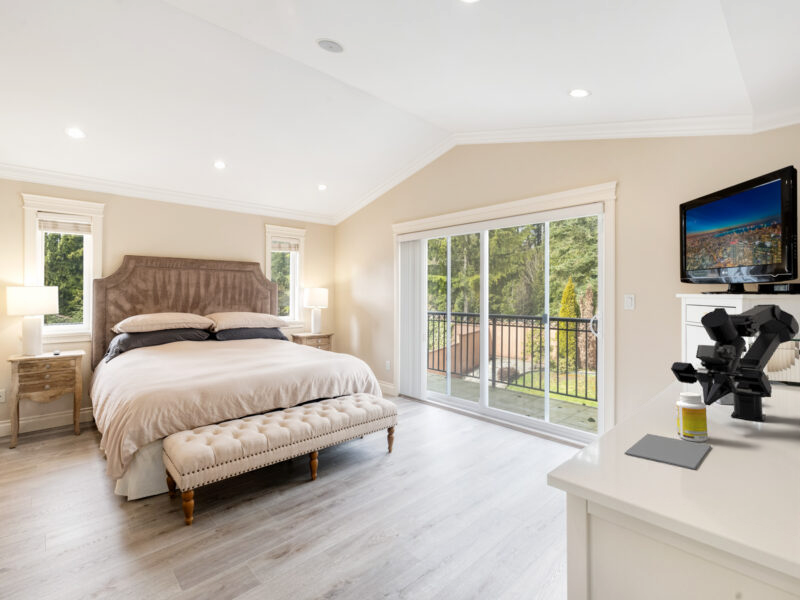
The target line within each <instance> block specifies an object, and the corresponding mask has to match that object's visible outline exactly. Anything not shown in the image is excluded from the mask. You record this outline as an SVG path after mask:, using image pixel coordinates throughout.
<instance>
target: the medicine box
mask: <svg viewBox="0 0 800 600" xmlns="http://www.w3.org/2000/svg"><path fill="white" fill-rule="evenodd" d="M713 383H714V381H713ZM715 403H717V404H719V405H734V400H733V393H729V394H727V395H725V396H723V397H722V398H720V399H719V400H717V401H716V402H715Z"/></svg>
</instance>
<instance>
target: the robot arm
mask: <svg viewBox="0 0 800 600" xmlns="http://www.w3.org/2000/svg"><path fill="white" fill-rule="evenodd" d="M700 323H701V325H702V326H703V329H705V331H706V333H707V335H708V336H709V338H710V340H711V341H714V345H709V344H707V345H706V344H697V350H696V355H695V358H696V359H699V361H700V362H699V363H700V365H701V367H699V366H698V367H697V369H696V368H695V367H694V366H693V364H692V363H691V362H683V361H675V362H673V363H672V364H671V368H670V370H671V371H672V373H673V375H674V376H675V378H676V379H677V381H678V382H681V383H684V384H690V385H693V384H695V383H697V382H698V383H699V384H700V386H701V387H702V397H703V403H704V404H705V405H706V406H711V405H713V404H714V403H717V402H716V401H717V400H719V399H720V398H722V397H723V396H725V395H727V394H729V393H733V400H734V404H733V412H731V414H730V418H733V419H742V420H750V421H757V422H765V420H766V417H767V415H766V414H764V413H763V399H762V398H772V392H773V391H772V386H771V381H770V380H769V378H768V377H767V375H766V372H765V371H764V369H765V368H766V366H767V364H768V363H769V361H770V360H771V359H772V357H773V355H774V354H775V353H776V351H777V349H778V348H779V346H780V345H781V344H784V343H787V342H790V341H792V340H793V339H794V338H795V337H796V335H798V334H799V331H800V326H799V323H798V321H797V319H796V317H794V315H793V314H791V313H789V312H787V311H785V310H783V309H781V307H780V306H779V305H778V304H777V305H776V304H757V305H754V306H753V307H751V308H750V309H747V310H746V311H743V312H741V313H736V314H735V313H734V314H733V313H732V314H730V313H729V314H728V312H727V310H726V308H725V307H715V308H714V310H712V311H709V312H707V313H705V314H704V315H703V316H702V317H701V318H700ZM756 334H758V336H757V337H756V339H755V340H754V341H753V342H752V344H751V346H750V347H749V348H748V350H747V347H746V345H747V342H746V340H745V338H752V337H754V336H755V335H756ZM743 353H745V354H744V356H743V357H742V355H743ZM713 381H714V383H713Z"/></svg>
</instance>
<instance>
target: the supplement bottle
mask: <svg viewBox="0 0 800 600" xmlns="http://www.w3.org/2000/svg"><path fill="white" fill-rule="evenodd" d="M675 407H676V424H677V426H676V427H677V428H676V429H677V436H678V437H679V439H681V440H685V441H690V442H696V443H700V442H703V443H704V442H706V441H707V440H708V439H709V438H708V420H707V419H708V418H707V405H705V403H704V402H702V394H700V393H697V392H690V391H687V392H686V391H684V392H680V393H679V400H678V401H676V403H675Z"/></svg>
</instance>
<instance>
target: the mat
mask: <svg viewBox="0 0 800 600" xmlns="http://www.w3.org/2000/svg"><path fill="white" fill-rule="evenodd" d="M711 448H712V445H711V444H706V443H700V442H695V441H688V440H685V439H680V438H679V439H678V438H673V437H667V436H663V435H657V434H652V433H646V434H645V435H644V436H643V437H642V438H640V439H639V440H638V441H637V442H635V443H634V444H633V445H632V446H631V447H630V448H628V449H627V450H626V451H625V452H624V455H625V454H626V456H629V457H630V456H631V457H634V458H638V459H639V458H640V459H643V460H644V459H645V460H648V461H653V462H658V463H660V464H661V463H662V464H666V465H672V466H676V467H680V468H684V469H688V470H693V471H695V470H696V469H697V467H698V465H700V463H701V462H702V460H703V459H704V458H705V456H706V455H707V454H708V452H709V451H710V449H711Z"/></svg>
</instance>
